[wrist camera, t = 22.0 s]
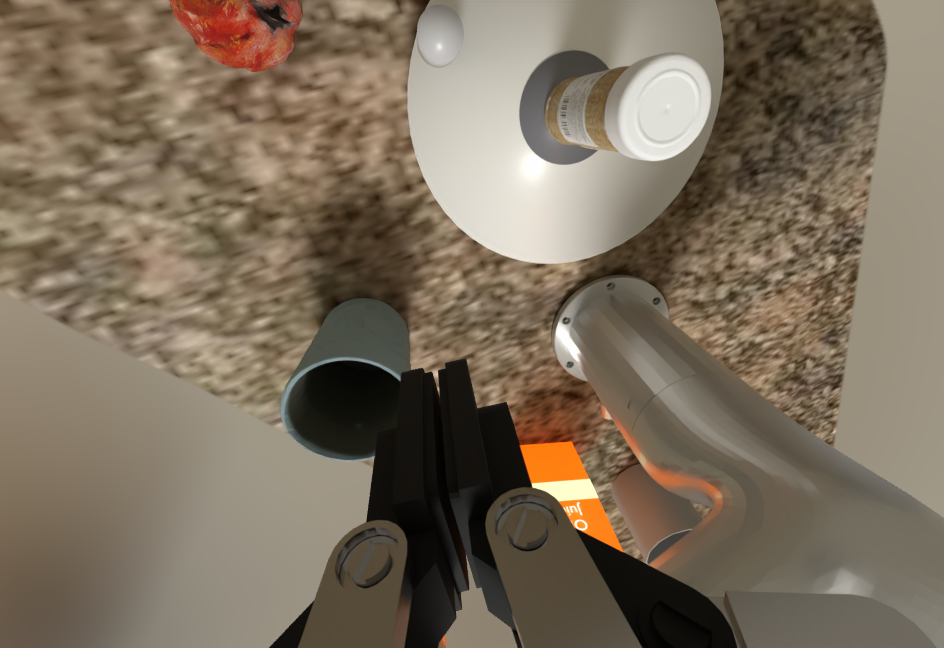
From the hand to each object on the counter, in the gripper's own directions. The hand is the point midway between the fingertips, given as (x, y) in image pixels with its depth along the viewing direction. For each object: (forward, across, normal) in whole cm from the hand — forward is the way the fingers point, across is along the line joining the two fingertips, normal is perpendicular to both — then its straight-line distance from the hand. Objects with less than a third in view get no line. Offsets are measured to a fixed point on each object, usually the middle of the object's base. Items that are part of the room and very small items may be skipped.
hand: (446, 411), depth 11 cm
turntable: (+29, -12, -5) cm, 32 cm away
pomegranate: (+29, +9, -15) cm, 34 cm away
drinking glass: (+29, +9, +12) cm, 33 cm away
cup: (+29, -20, +43) cm, 56 cm away
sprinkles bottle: (+25, -12, -5) cm, 29 cm away
